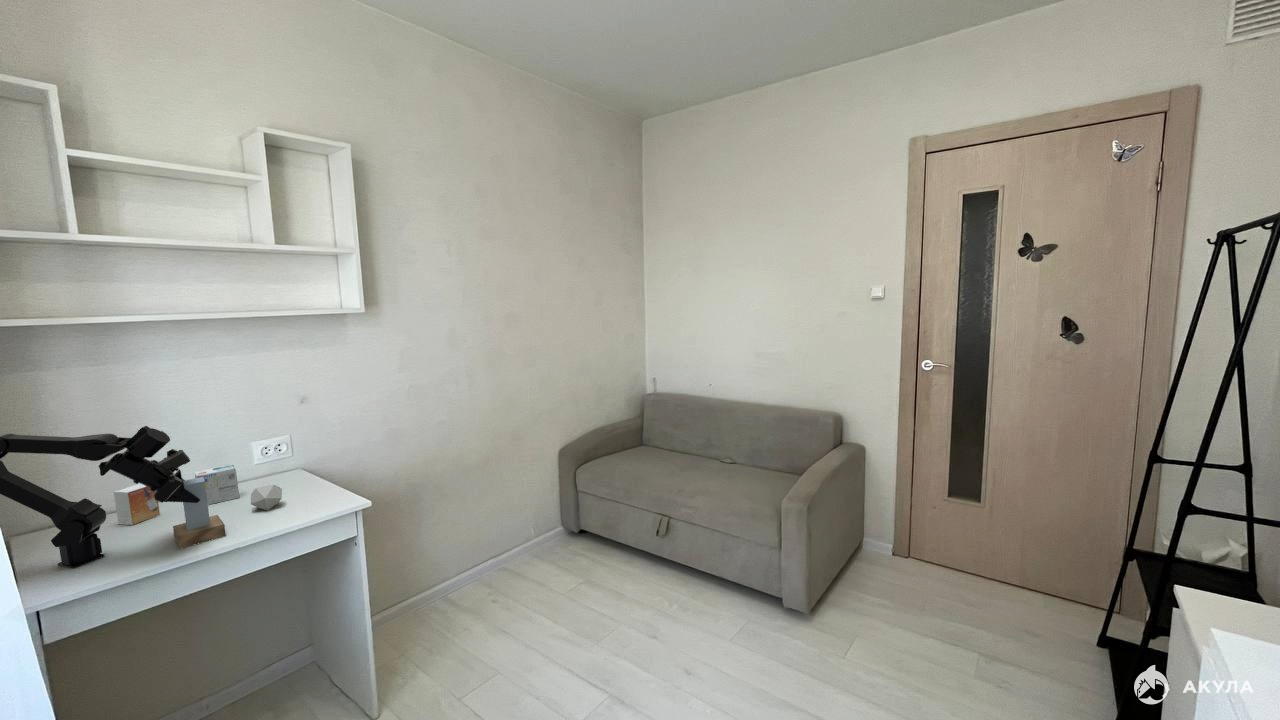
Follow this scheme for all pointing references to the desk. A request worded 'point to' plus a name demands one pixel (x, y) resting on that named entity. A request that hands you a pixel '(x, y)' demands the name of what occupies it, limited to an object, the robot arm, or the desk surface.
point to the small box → (135, 504)
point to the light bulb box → (220, 483)
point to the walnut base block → (199, 532)
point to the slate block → (196, 504)
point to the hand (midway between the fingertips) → (197, 496)
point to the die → (266, 496)
